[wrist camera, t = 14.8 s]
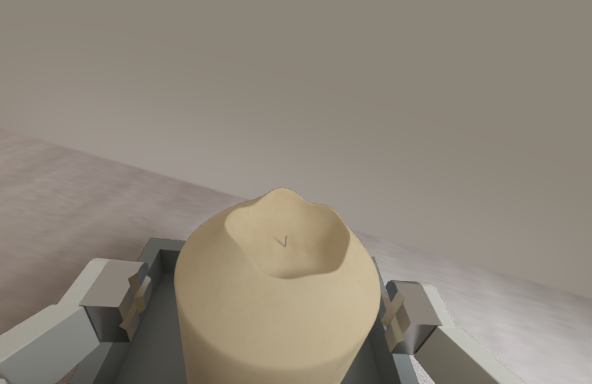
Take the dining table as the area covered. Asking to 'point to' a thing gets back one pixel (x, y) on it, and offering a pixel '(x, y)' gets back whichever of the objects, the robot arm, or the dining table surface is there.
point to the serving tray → (168, 345)
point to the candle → (274, 294)
